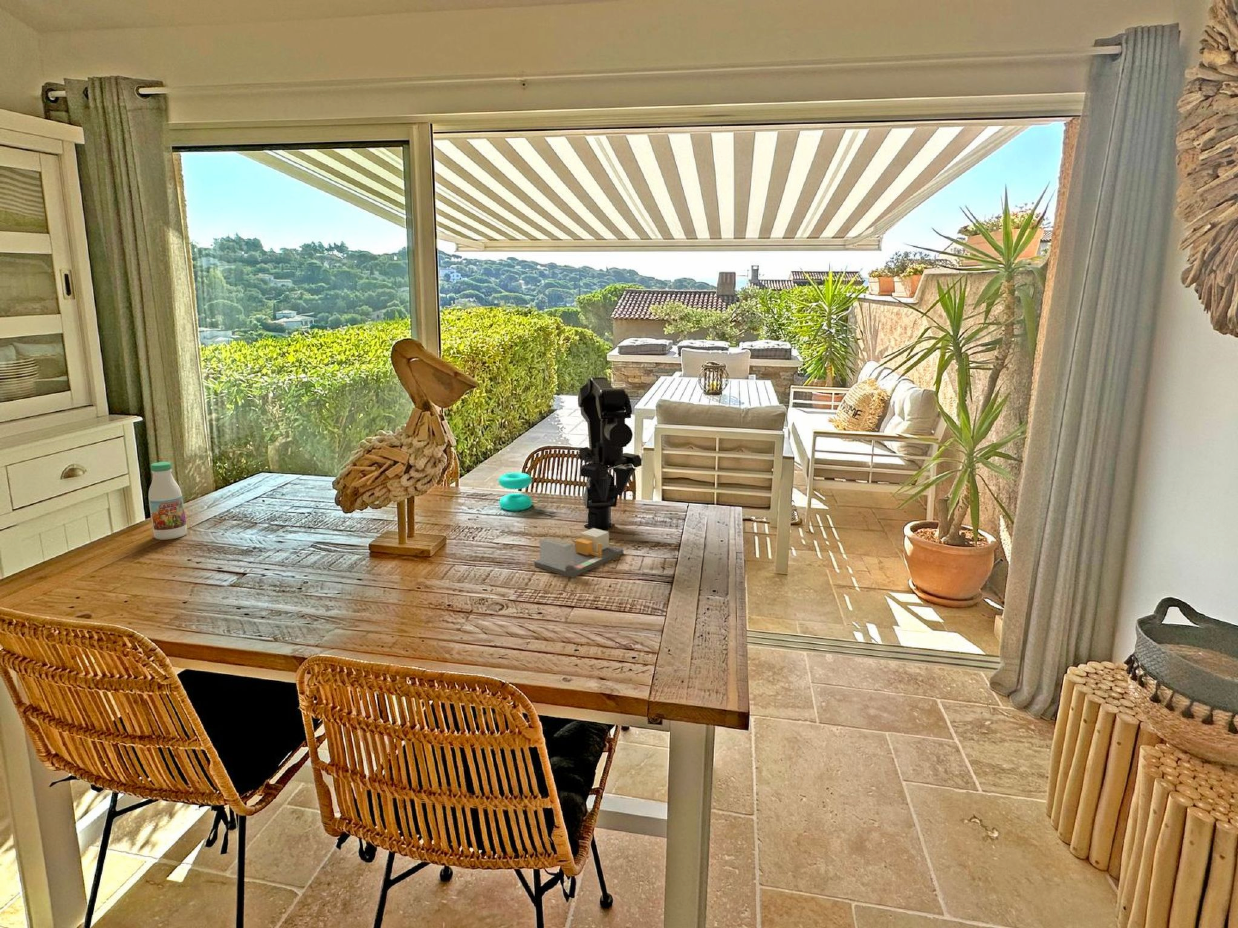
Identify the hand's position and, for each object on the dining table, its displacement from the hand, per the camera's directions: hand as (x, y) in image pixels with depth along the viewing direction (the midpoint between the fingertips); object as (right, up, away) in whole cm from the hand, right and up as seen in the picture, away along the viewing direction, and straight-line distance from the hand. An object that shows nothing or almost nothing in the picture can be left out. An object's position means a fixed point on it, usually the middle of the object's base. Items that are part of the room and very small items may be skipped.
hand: (611, 497), depth 187 cm
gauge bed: (-8, -15, -7) cm, 18 cm away
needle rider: (-5, -14, -7) cm, 16 cm away
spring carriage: (-4, -12, -3) cm, 13 cm away
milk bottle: (-119, -11, +8) cm, 119 cm away
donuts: (-30, -5, +36) cm, 47 cm away
